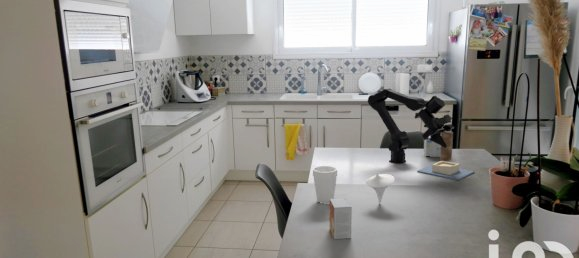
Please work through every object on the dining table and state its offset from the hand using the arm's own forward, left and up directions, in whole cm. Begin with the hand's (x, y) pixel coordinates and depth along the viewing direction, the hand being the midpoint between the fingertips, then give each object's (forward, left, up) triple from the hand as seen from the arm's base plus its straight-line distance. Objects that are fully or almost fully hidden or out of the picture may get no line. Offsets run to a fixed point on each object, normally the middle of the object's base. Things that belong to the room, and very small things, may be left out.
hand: (449, 146), depth 196 cm
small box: (+6, -86, -13) cm, 87 cm away
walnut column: (-1, 0, -7) cm, 7 cm away
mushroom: (0, -55, -13) cm, 56 cm away
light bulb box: (-20, +26, -13) cm, 36 cm away
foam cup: (-17, -67, -13) cm, 70 cm away
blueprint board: (-1, 0, -13) cm, 13 cm away
